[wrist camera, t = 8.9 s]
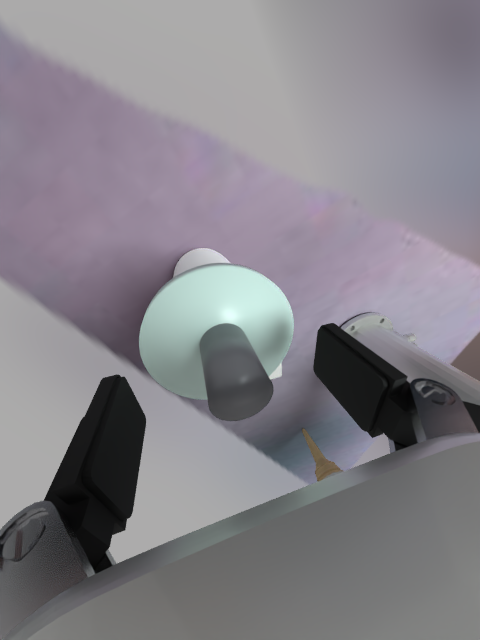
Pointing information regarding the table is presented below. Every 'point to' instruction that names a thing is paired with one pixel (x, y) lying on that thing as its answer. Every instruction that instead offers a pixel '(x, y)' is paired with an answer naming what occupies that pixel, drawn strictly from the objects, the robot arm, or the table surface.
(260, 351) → the lid
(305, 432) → the ice cream cone
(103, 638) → the robot arm
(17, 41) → the table surface
